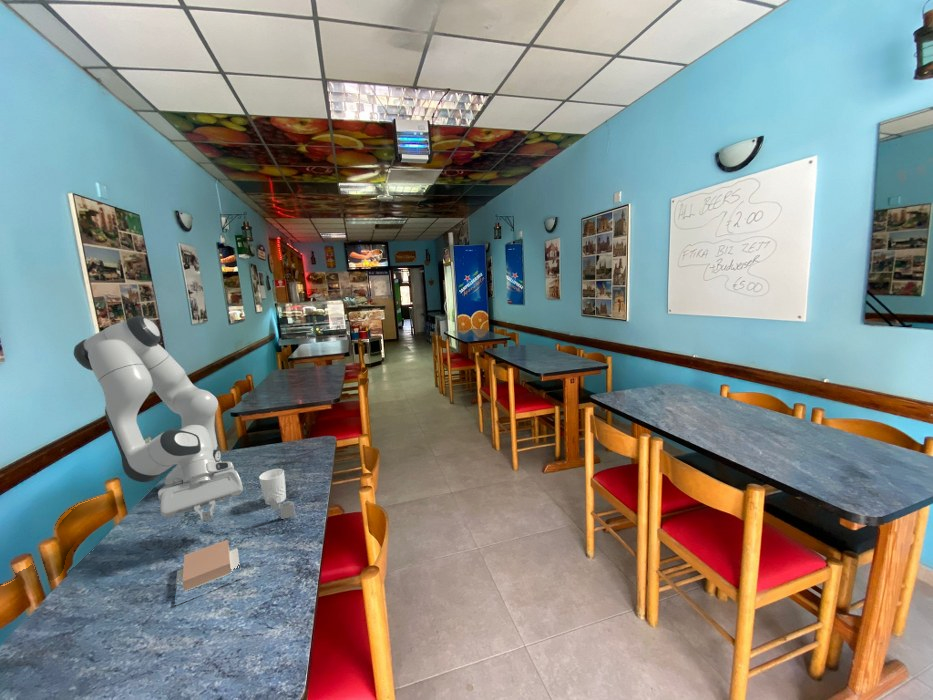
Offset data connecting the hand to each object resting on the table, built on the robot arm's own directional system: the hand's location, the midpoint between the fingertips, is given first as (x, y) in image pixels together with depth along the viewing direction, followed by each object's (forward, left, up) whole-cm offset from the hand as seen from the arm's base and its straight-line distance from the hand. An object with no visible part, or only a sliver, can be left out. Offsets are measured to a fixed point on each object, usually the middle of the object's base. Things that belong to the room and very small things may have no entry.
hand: (207, 518), depth 111 cm
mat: (+6, -13, -9) cm, 16 cm away
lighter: (+16, +11, -9) cm, 22 cm away
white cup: (+9, +23, -9) cm, 26 cm away
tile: (+2, -5, -7) cm, 9 cm away
